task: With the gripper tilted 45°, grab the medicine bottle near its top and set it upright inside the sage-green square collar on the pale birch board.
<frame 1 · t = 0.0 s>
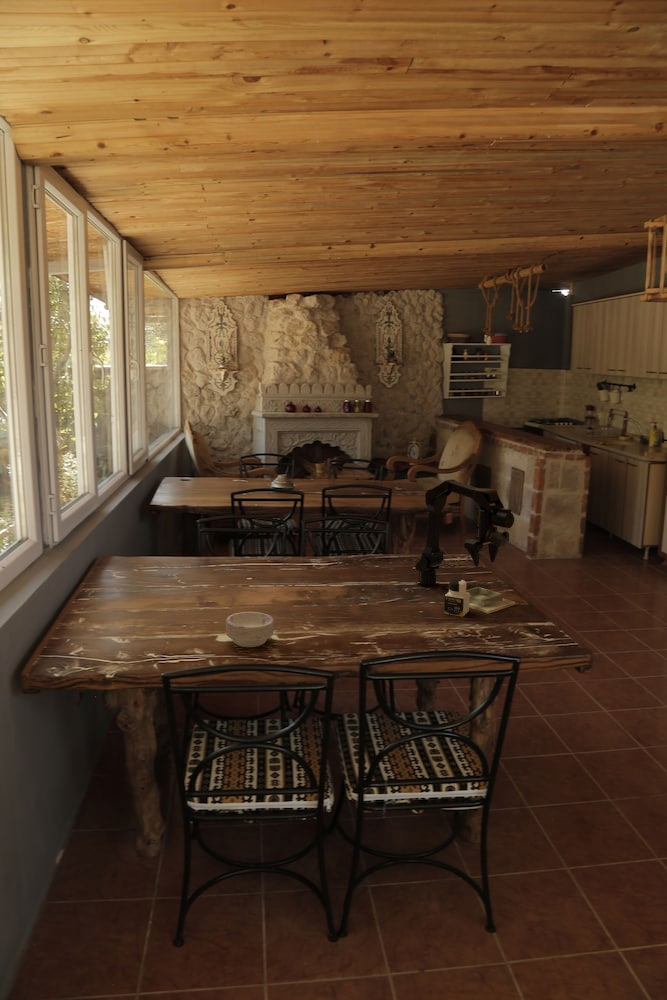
hand: (484, 564, 284), 15 cm above the table, tool pointing down, fingers open, 9 cm apart
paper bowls: (250, 642, 244), on the table
medicine bottle: (456, 613, 274), on the table
holder board: (480, 602, 286), on the table
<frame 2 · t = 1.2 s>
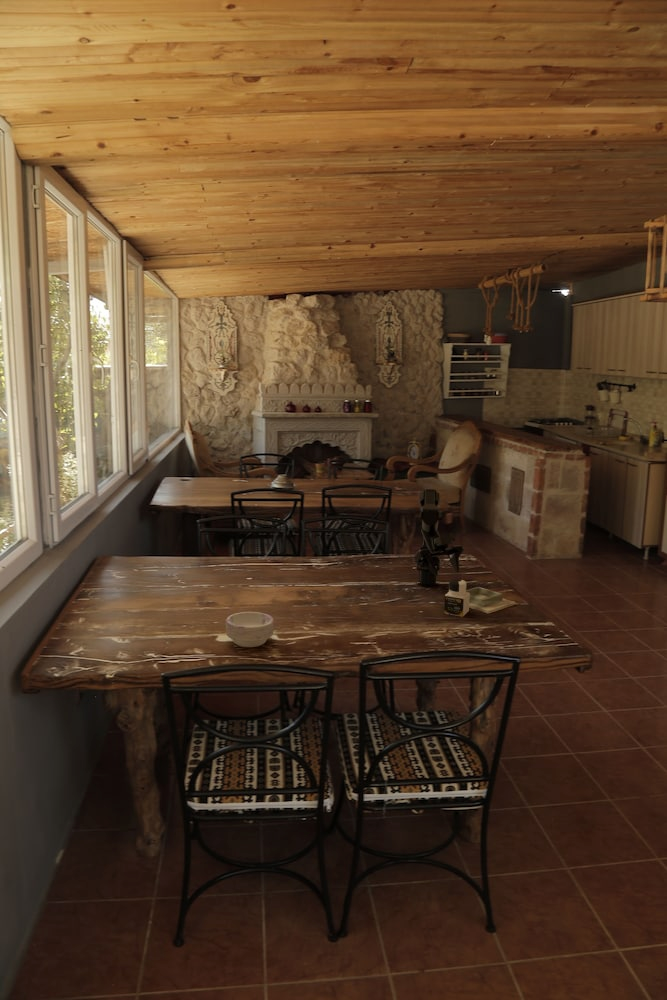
hand: (447, 573, 278), 13 cm above the table, tool tilted 45°, fingers open, 9 cm apart
nothing on the table moved.
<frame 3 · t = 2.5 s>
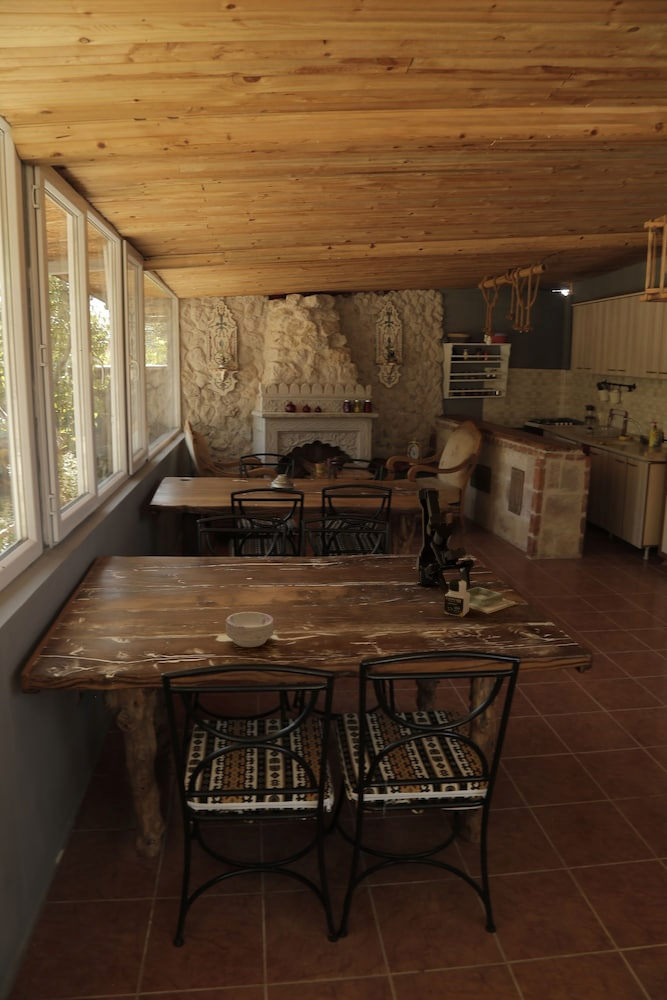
hand: (458, 588, 272), 9 cm above the table, tool tilted 45°, fingers open, 9 cm apart
nothing on the table moved.
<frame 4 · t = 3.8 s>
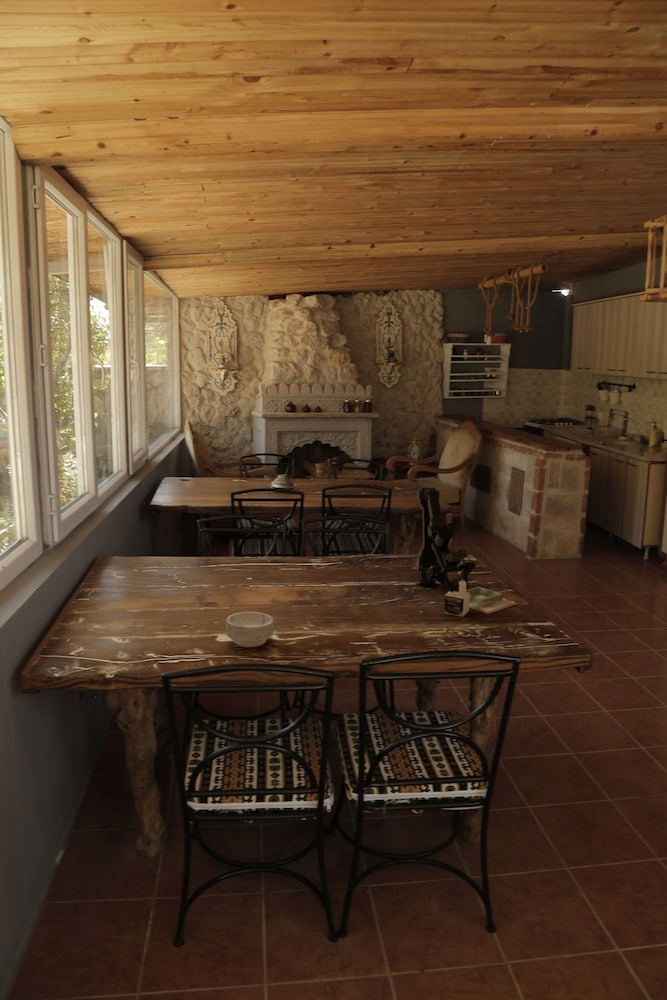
hand: (459, 590, 272), 9 cm above the table, tool tilted 45°, fingers closed on medicine bottle, 6 cm apart
medicine bottle: (456, 613, 274), on the table, touching gripper
everything else where it was.
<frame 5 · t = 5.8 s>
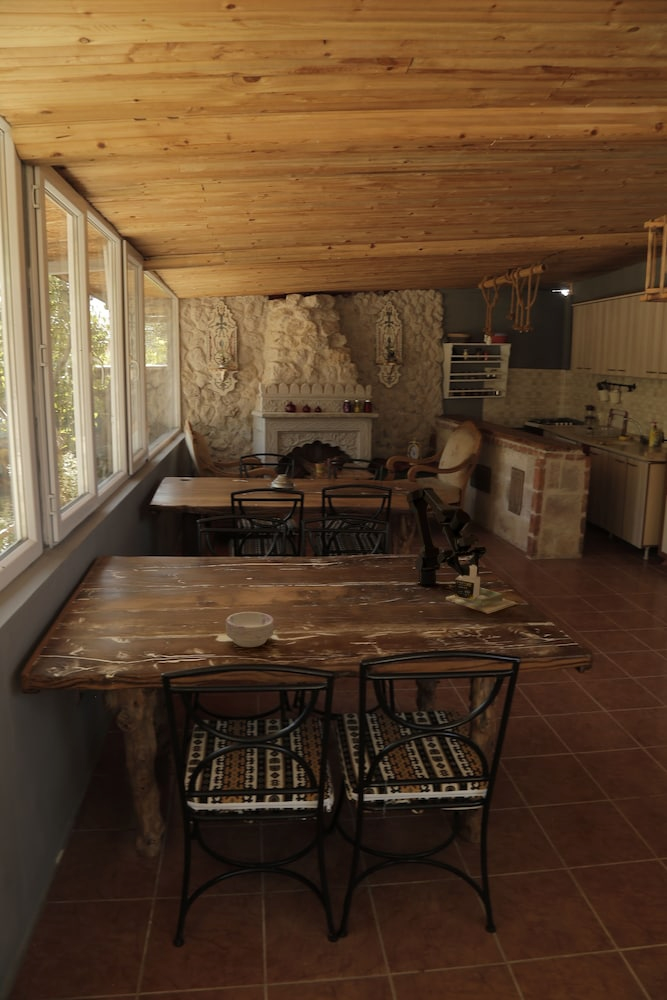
hand: (470, 574, 276), 13 cm above the table, tool tilted 45°, fingers closed on medicine bottle, 6 cm apart
medicine bottle: (466, 596, 279), point 4 cm above the table, touching gripper
everything else where it was.
when the fingers open (10 cm above the table, at t = 8.0 s): medicine bottle stays where it is, resting on holder board.
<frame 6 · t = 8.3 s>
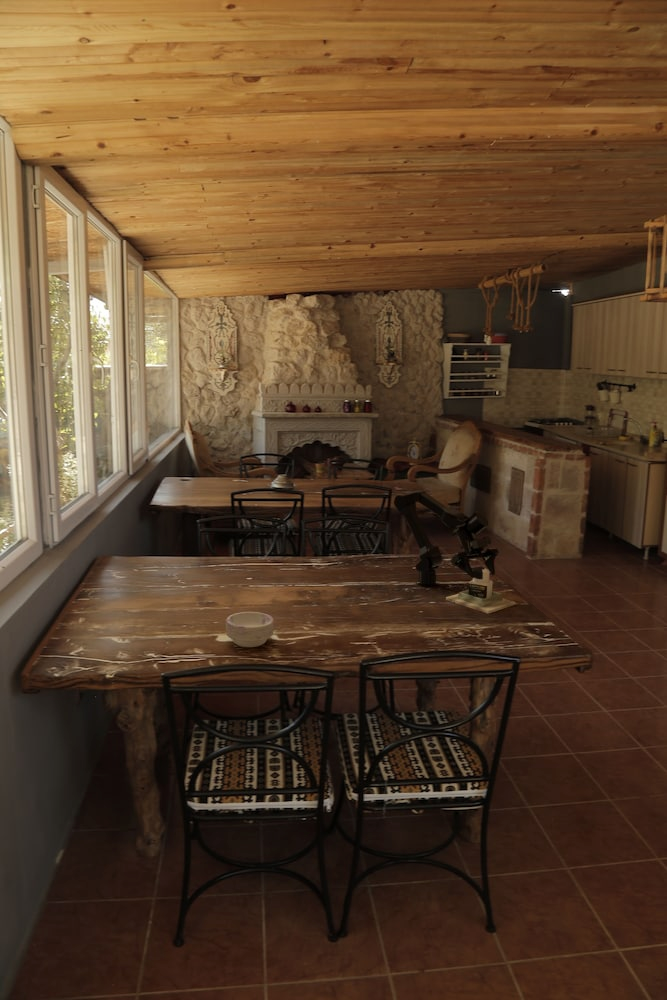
hand: (483, 576, 283), 11 cm above the table, tool tilted 45°, fingers open, 9 cm apart
medicine bottle: (479, 600, 286), point 1 cm above the table, touching holder board
everything else where it was.
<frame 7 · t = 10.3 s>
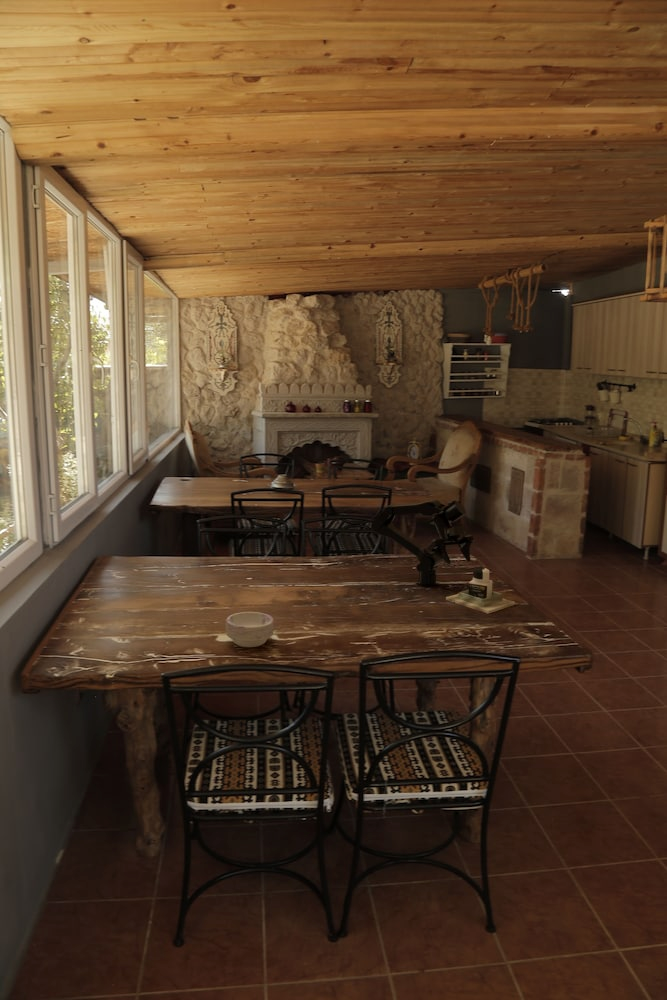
hand: (459, 562, 291), 13 cm above the table, tool tilted 45°, fingers open, 9 cm apart
nothing on the table moved.
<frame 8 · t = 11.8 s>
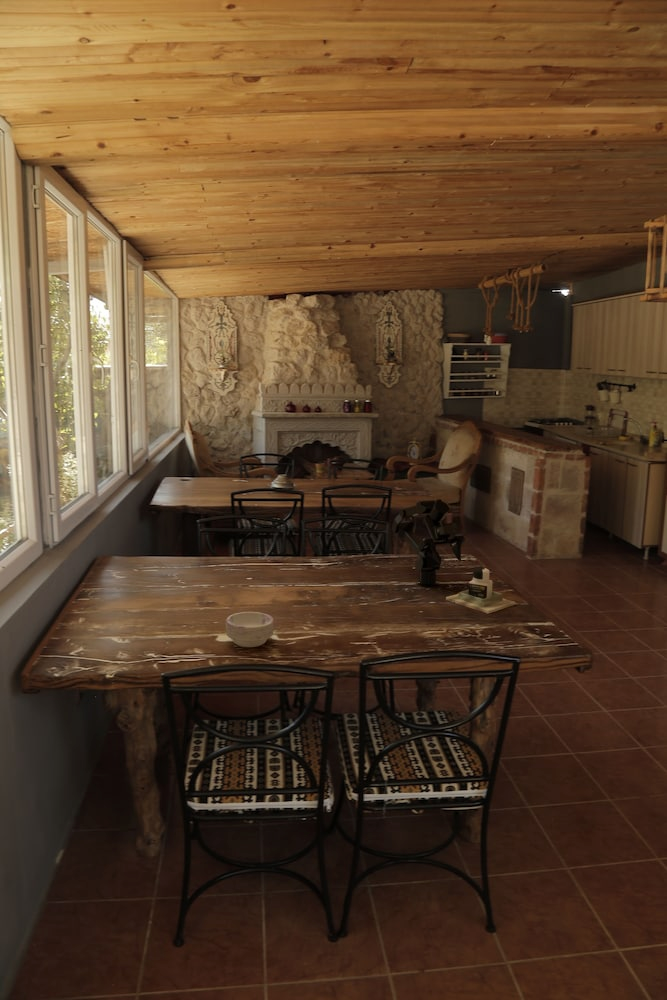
hand: (450, 561, 291), 14 cm above the table, tool tilted 45°, fingers open, 9 cm apart
nothing on the table moved.
at the end: medicine bottle 0.2 cm off-centre on the holder board, point 0.8 cm above the holder board's base; medicine bottle tilted 0°; the gripper is holding nothing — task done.
